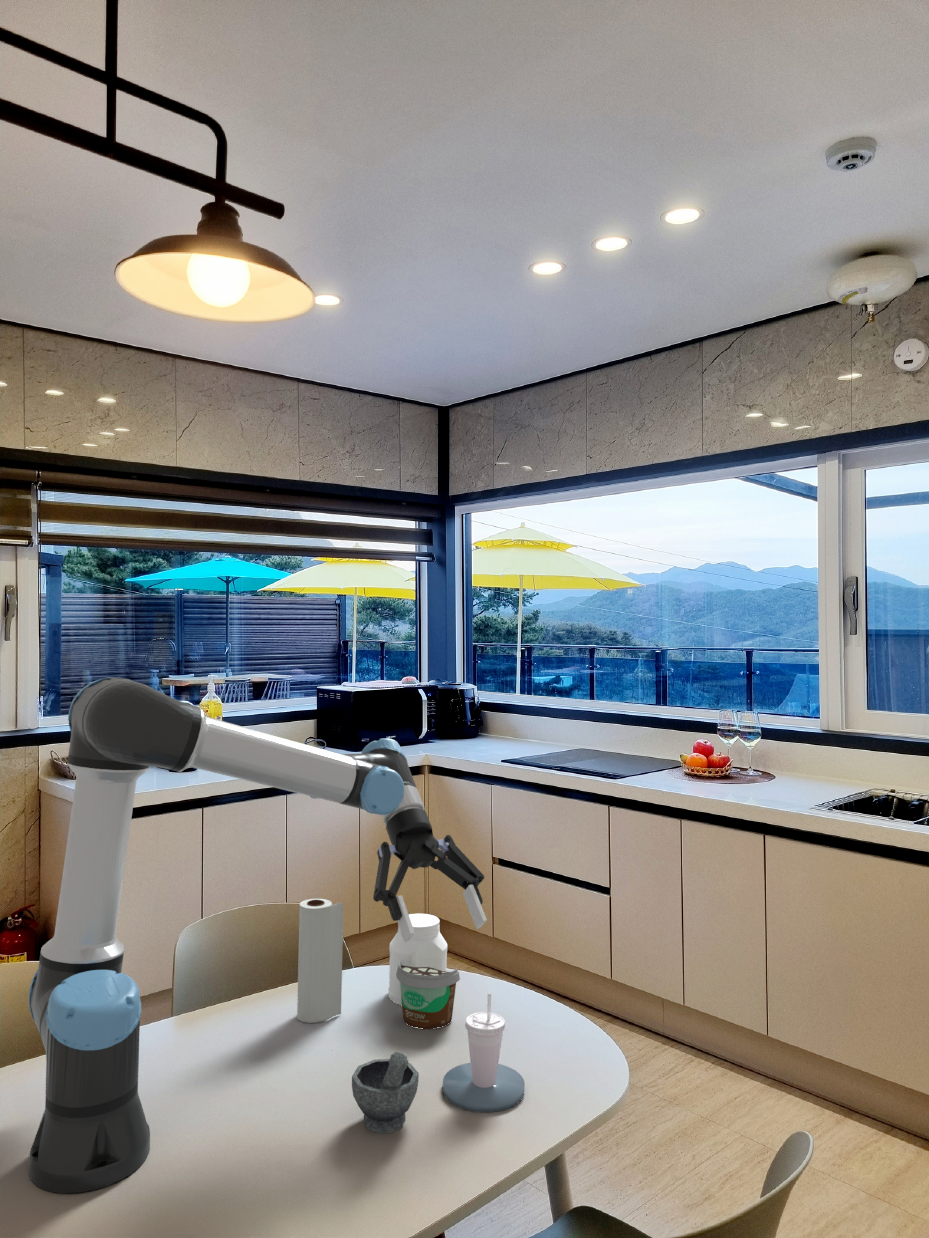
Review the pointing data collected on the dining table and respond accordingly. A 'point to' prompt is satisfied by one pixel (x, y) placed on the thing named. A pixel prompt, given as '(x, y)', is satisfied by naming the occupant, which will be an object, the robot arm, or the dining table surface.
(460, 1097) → the dish
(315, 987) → the paper towel roll
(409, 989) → the food container
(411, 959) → the jar
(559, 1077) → the dining table surface
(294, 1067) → the dining table surface
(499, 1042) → the smoothie
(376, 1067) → the mortar and pestle
